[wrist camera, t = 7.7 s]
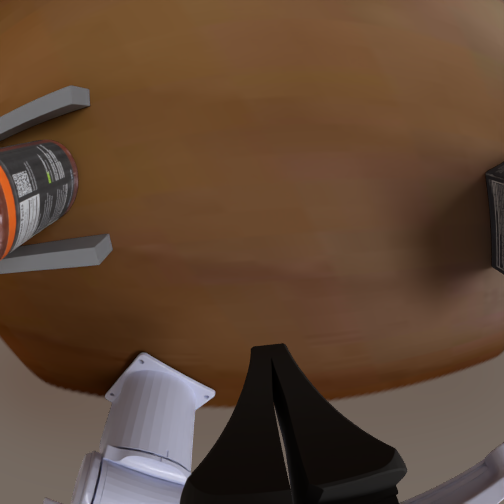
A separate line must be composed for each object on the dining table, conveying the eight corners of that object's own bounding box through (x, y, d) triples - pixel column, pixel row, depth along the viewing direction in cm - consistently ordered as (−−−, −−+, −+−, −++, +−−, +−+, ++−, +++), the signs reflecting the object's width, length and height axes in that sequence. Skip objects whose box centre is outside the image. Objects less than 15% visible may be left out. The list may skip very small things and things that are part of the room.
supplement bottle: (12, 186, 16) (-93, 239, 6) (45, 122, 15) (-79, 141, 4) (58, 234, 18) (-39, 318, 8) (97, 172, 17) (-24, 228, 6)
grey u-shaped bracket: (89, 89, 14) (71, 85, 12) (112, 249, 19) (99, 264, 17) (-15, 134, 14) (-34, 137, 12) (10, 261, 19) (-5, 274, 16)
